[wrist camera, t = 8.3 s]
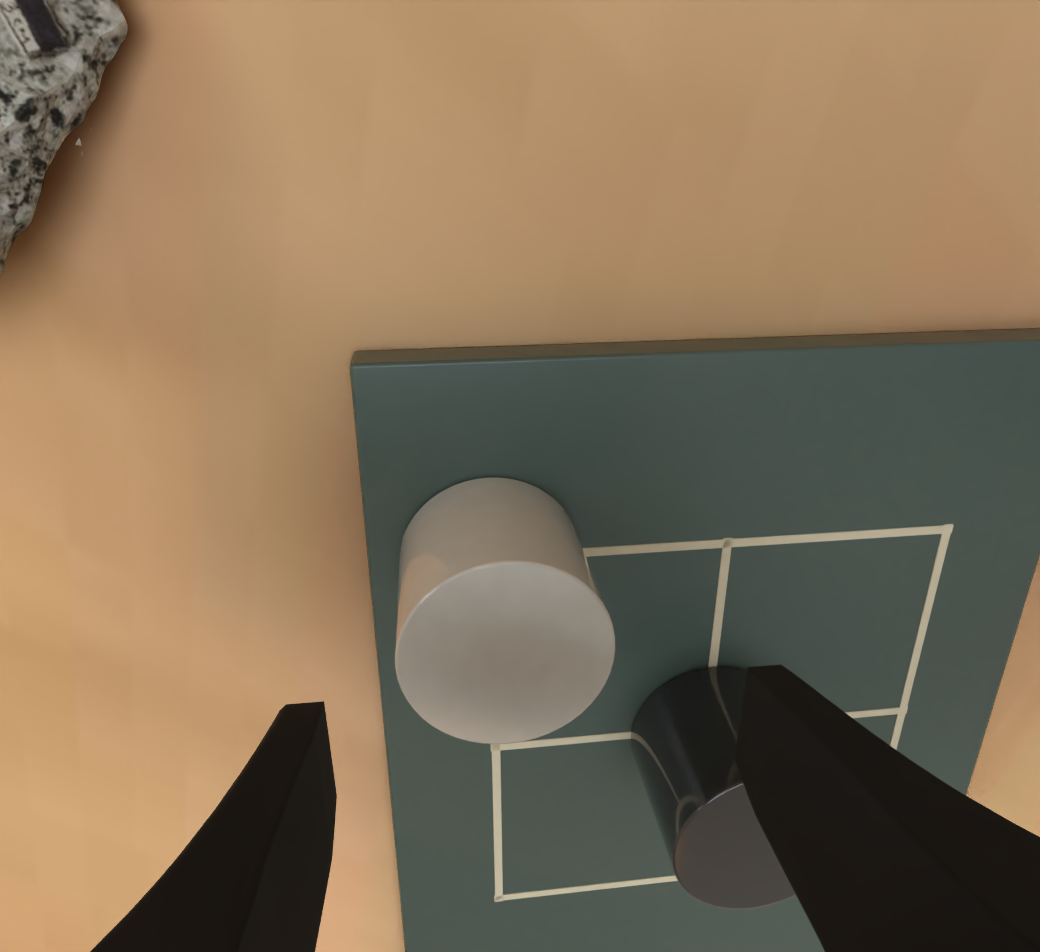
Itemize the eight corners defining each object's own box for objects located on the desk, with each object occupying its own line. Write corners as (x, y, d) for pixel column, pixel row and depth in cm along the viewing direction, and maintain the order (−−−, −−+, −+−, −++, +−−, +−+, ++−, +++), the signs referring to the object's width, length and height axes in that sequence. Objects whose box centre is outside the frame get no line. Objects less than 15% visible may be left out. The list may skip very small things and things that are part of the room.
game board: (1070, 326, 20) (1110, 337, 18) (901, 916, 28) (921, 949, 27) (353, 350, 18) (348, 364, 17) (411, 976, 27) (410, 1014, 25)
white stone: (580, 471, 18) (621, 554, 15) (576, 627, 20) (611, 735, 16) (392, 481, 18) (386, 569, 14) (405, 639, 19) (402, 755, 16)
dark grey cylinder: (789, 659, 21) (865, 766, 18) (769, 779, 23) (835, 899, 19) (634, 672, 21) (680, 785, 17) (626, 793, 23) (666, 919, 19)
